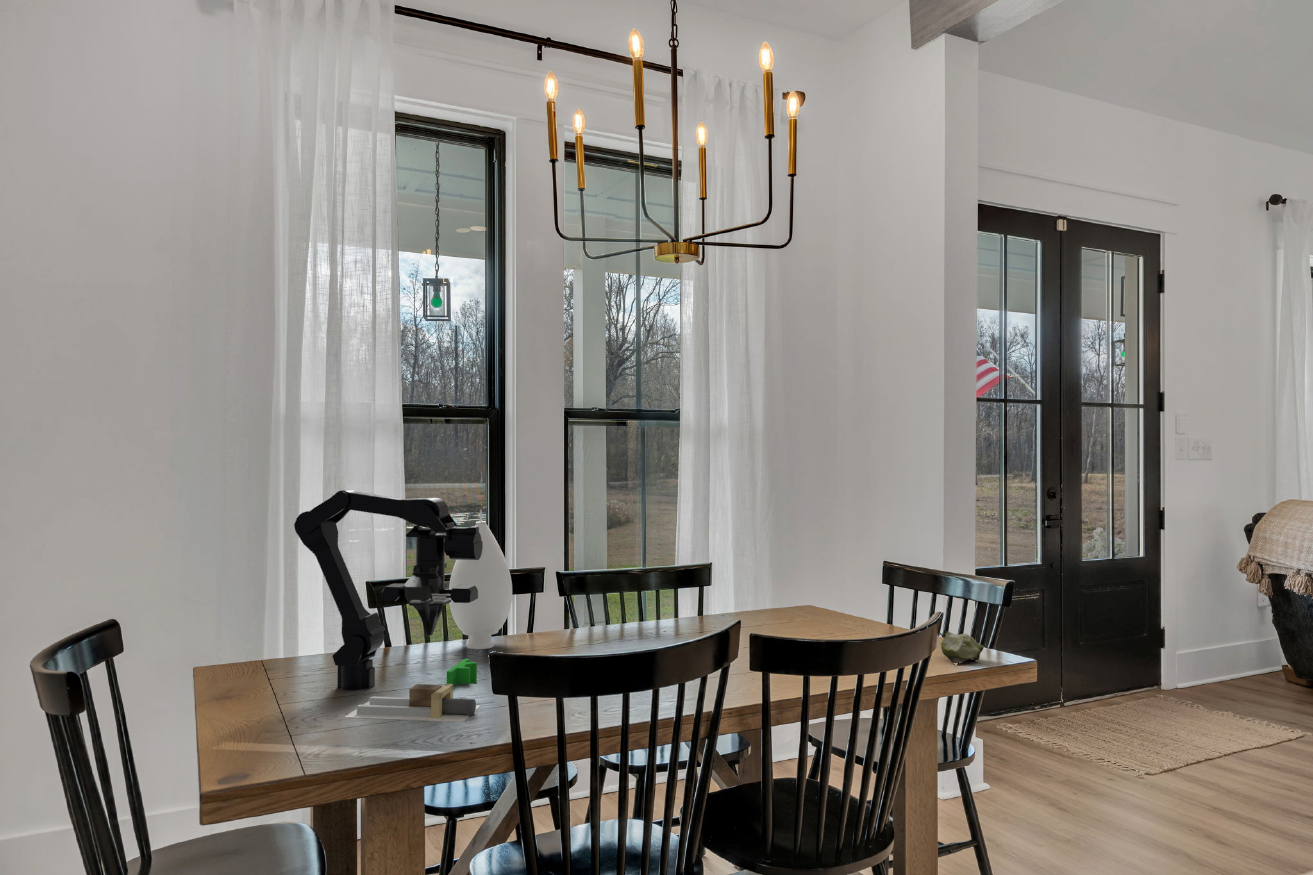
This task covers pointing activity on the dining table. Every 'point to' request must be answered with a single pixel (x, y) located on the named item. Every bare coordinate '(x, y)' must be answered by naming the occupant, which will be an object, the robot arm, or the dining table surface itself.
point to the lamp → (483, 592)
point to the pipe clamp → (463, 673)
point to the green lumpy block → (960, 647)
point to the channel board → (408, 708)
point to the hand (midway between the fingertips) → (429, 635)
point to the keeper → (421, 695)
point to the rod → (458, 706)
